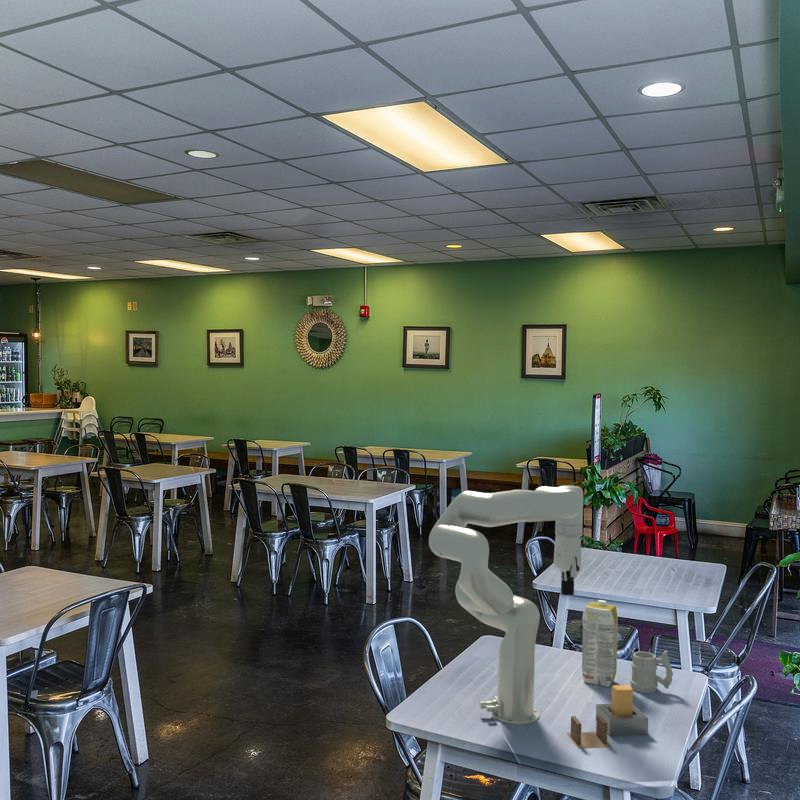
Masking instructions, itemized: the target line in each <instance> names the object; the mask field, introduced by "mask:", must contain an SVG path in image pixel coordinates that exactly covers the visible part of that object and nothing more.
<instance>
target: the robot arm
mask: <svg viewBox="0 0 800 800" xmlns="http://www.w3.org/2000/svg"><path fill="white" fill-rule="evenodd" d="M583 517H584V490H583V488H582V487H580V486H578V485H577V486H576V485H568V484H567V485H560V486H549V485H544V486H543V485H542V486H538V487H537V488H535V490H530V489H512V490H505V491H497V492H480V491H475V490H474V491H473V490H464V491H462V492H461V493H460V494H458V495H456V497H455V498H454V499H453V500H452V501H451V502H450V504H449V505H448V506H447V508H446V509H445V511H443V513H442V514H441V515H440V518H438V520H437V521H436V522H435V524H434V525H433V527H432V529H431V531H430V532H429V536H428V546H429V549H430V550H431V552H432V553H433V554H434V555H435V556H437V557H440V558H443V559H448V560H451V561H456V562H459V563H461V567H460V568H461V569H460V573H459V576H458V580H457V581H456V584H455V590H454V591H455V593H454V594H455V596H456V600H457V602H458V604H459V605H460V606H461V607H462V608H463V609H465V610H466V611H467V612H468V613H470V615H472V616H473V617H475V618H476V619H477V620H478V621H480V622H481V623H483V624H485V625H487V626H489V627H493V628H496V629H498V630H501V631H503V632H505V635H504V637H503V639H502V640H501V642H500V644H499V646H498V653H497V655H498V657H497V695H494V698H493V699H490V700H488V701H487V700H480V701H478V702H479V709H481V710H482V709H483V710H484V709H485V710H486V713H487V712H488V713H489V712H490V714H491V717H492V718H493V719H494V720H495V721H497V720H498V721H499V722H503V723H506V724H510V725H521V726H522V725H529V724H533V723H535V722H537V721H538V720H539V719H540V712H539V711H538V710H537V709H536V708H535V707H534V705H535V702H534V700H535V699H534V698H535V662H536V661H535V659H536V657H535V655H536V654H535V653H536V639H537V633H538V628H539V625H540V617H541V616H540V611H539V608H538V607H537V605H536V603H534V602H533V601H531V600H529V599H527V598H524V597H522V596H519V595H515V594H513V590H512V589H511V587H509V585H508V584H507V583H506V582H504V581H503V580H502V579H501V578H499V577H498V576H497V574H495V573H493V572H492V570H491V569H489V556H490V546H489V541H488V539H487V538H486V537H485V535H484V534H483V533H481V532H480V531H478V530H476V529H474V528H469V527H467V525H468V524H471V525H476V526H481V527H486V528H494V527H500V526H505V525H511V524H516V523H523V522H524V523H534V522H551V521H555V525H554V528H555V531H554V534H555V538H554V550H553V551H554V553H553V565H554V566H555V567H556V569H559V570H560V578H561V580H560V581H561V583H560V584H561V585H560V589H561V590H560V593H561V594H562V595H563V596H574V594H575V579H576V578H577V573H579V572H580V571H581V569H582V568H581V566H582V543H581V537H582V536H583Z"/></svg>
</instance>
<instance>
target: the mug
mask: <svg viewBox="0 0 800 800" xmlns="http://www.w3.org/2000/svg"><path fill="white" fill-rule="evenodd" d="M669 659H670V658H669V657H668V650H664V651H663V652H662V654H661V656H660V657H656V655H655V654H653V653H651V652H649V651H635V652H633V654H632V662H631V663H630V665H631V677H630V679H629V683H630V687H631V688H632V689H633V691H636V692H638V693H643V694H654V693H655V692H656V691H657V688H658V683H660V684H661V685H662V686H663V687H664V688H665V689H669V687H670V685H672V682H673V675H674V673H673V669H672V665H671V662H670V660H669ZM657 663H660V664H662V665H663V667H664V668H665V670H666V671H665V672H666V673H665V676H663V677H661V676H660V675H657V670H658V665H657Z"/></svg>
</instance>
